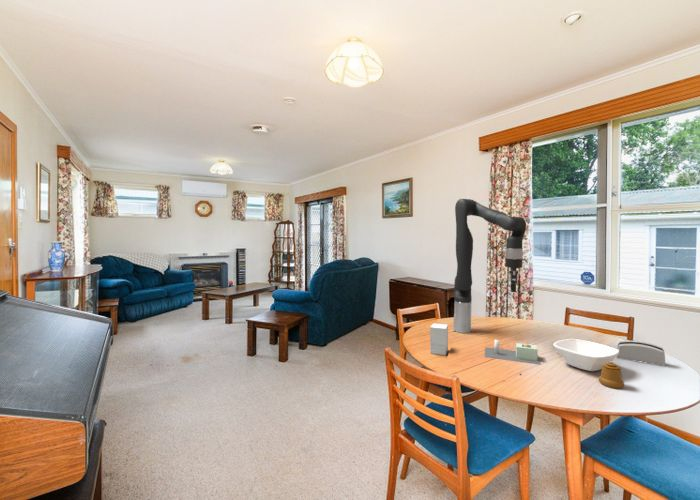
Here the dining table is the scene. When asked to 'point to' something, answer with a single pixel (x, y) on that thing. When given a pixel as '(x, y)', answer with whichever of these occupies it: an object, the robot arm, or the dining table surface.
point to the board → (506, 354)
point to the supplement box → (439, 339)
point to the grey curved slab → (641, 352)
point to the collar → (526, 352)
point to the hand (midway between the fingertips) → (513, 290)
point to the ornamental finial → (611, 376)
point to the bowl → (585, 353)
